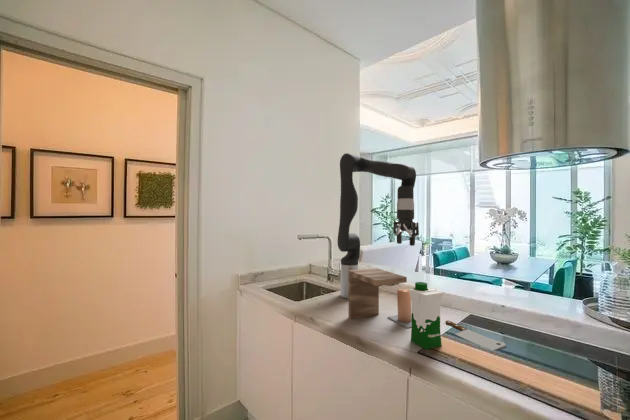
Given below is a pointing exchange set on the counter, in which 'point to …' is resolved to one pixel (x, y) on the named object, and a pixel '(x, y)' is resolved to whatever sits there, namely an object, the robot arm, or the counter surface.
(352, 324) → the counter surface
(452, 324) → the kitchen cleaver
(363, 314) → the walnut shelf
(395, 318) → the slate mat
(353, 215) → the robot arm
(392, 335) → the counter surface
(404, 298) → the peach cylinder
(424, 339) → the milk carton
